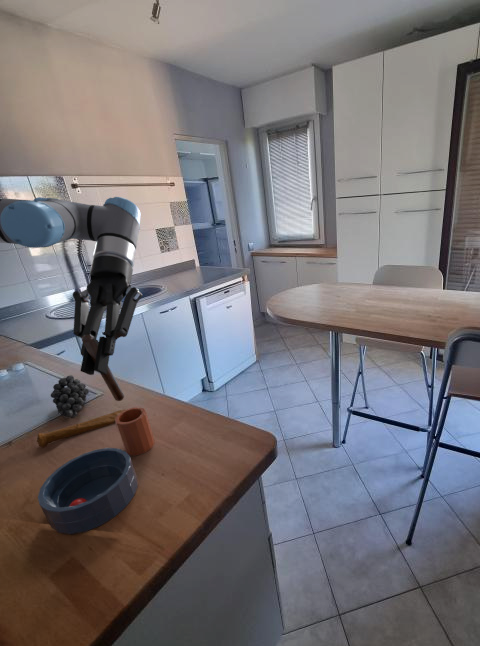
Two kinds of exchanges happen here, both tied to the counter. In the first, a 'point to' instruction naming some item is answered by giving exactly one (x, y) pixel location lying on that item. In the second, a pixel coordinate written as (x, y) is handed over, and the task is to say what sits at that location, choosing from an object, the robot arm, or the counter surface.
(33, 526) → the counter surface
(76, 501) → the tomato
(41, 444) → the primitive tool
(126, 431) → the crock
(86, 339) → the stick
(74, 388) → the fruit
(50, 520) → the bowl
